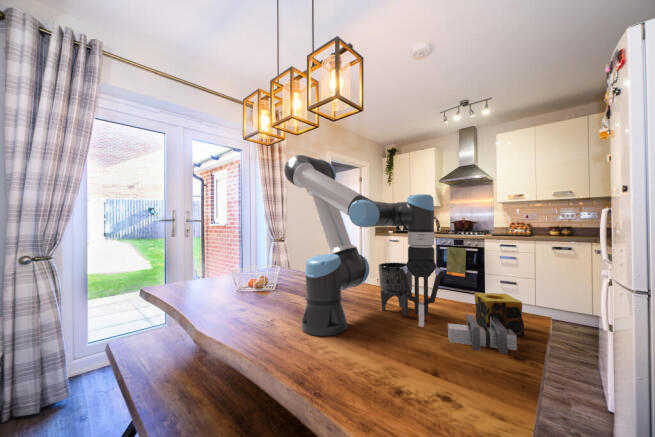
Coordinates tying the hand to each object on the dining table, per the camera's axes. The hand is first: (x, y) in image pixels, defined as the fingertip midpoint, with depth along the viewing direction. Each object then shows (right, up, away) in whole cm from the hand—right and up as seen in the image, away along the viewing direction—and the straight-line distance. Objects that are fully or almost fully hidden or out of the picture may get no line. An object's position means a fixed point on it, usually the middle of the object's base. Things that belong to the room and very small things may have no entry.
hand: (421, 324), depth 78 cm
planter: (-1, -4, +23) cm, 24 cm away
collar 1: (+13, -3, -5) cm, 14 cm away
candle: (+26, -3, +4) cm, 26 cm away
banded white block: (+14, -3, -6) cm, 16 cm away
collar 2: (+18, -3, -7) cm, 20 cm away
